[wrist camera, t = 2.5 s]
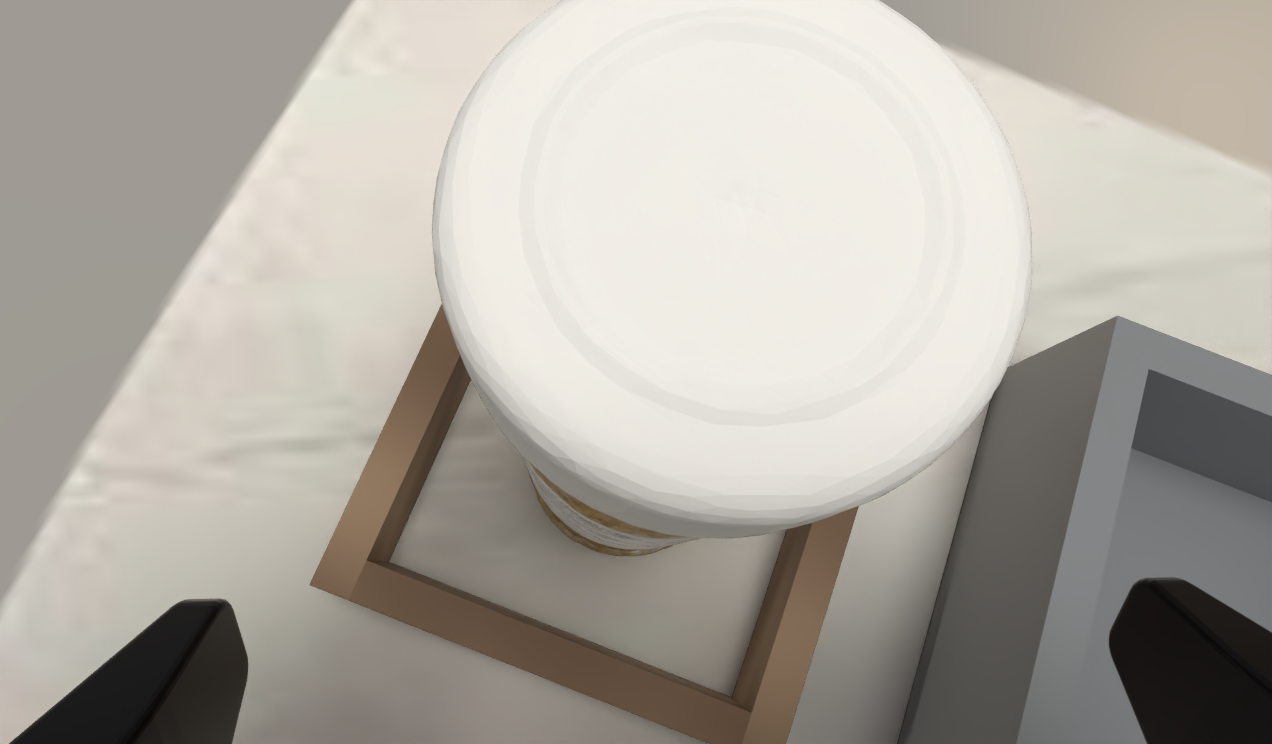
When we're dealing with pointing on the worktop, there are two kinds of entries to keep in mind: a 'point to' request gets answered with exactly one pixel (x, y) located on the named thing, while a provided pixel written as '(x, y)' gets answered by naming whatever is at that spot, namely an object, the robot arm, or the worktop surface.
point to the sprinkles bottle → (727, 260)
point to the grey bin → (1092, 532)
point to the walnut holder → (361, 573)
